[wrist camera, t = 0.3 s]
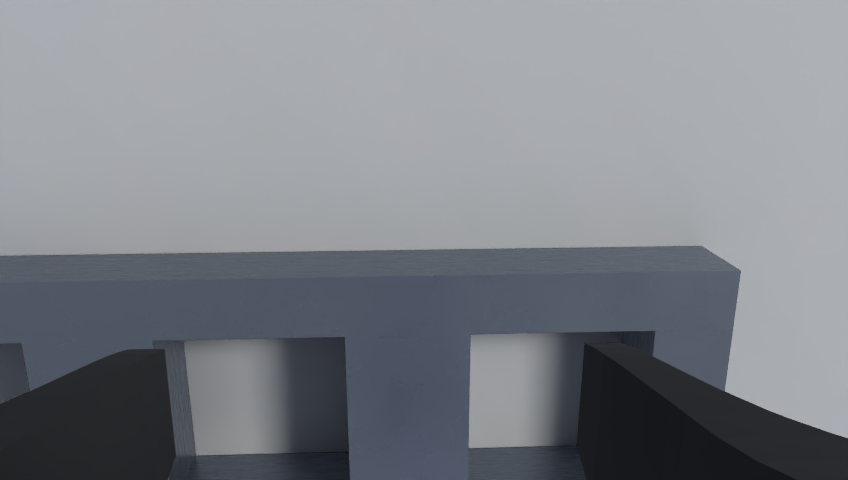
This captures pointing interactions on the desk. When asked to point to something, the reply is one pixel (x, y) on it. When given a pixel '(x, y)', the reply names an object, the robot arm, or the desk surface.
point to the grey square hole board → (372, 335)
